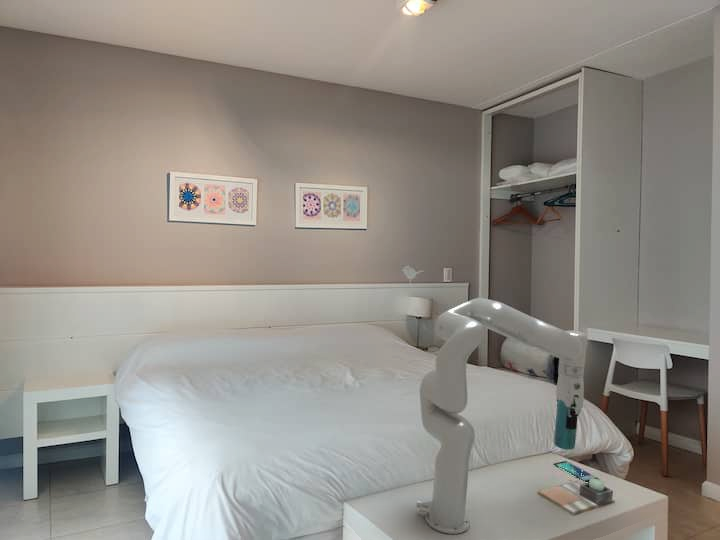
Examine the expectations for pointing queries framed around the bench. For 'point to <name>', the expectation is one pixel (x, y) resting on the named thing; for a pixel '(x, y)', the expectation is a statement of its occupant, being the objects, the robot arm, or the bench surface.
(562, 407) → the beverage bottle
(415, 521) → the bench surface
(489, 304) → the robot arm
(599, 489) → the button
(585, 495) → the wooden tray
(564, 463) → the smartphone
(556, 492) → the terracotta square
